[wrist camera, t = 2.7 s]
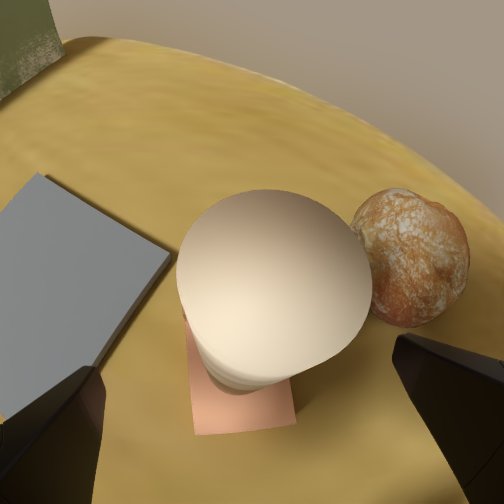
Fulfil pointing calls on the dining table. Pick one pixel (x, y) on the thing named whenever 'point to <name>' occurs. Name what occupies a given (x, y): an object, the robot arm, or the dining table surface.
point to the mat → (63, 288)
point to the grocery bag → (26, 42)
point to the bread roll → (411, 256)
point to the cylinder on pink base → (265, 304)
